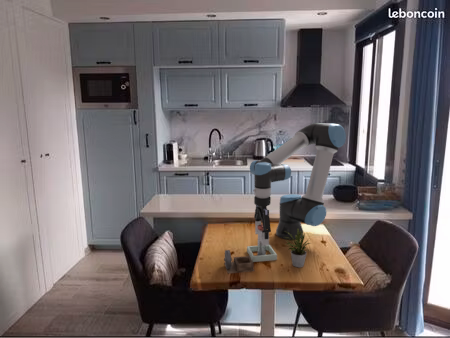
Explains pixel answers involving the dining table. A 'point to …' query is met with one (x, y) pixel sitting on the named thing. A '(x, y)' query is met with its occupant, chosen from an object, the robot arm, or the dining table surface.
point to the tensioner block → (238, 263)
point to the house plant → (298, 249)
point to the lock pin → (260, 241)
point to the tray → (261, 257)
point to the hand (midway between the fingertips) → (261, 239)
